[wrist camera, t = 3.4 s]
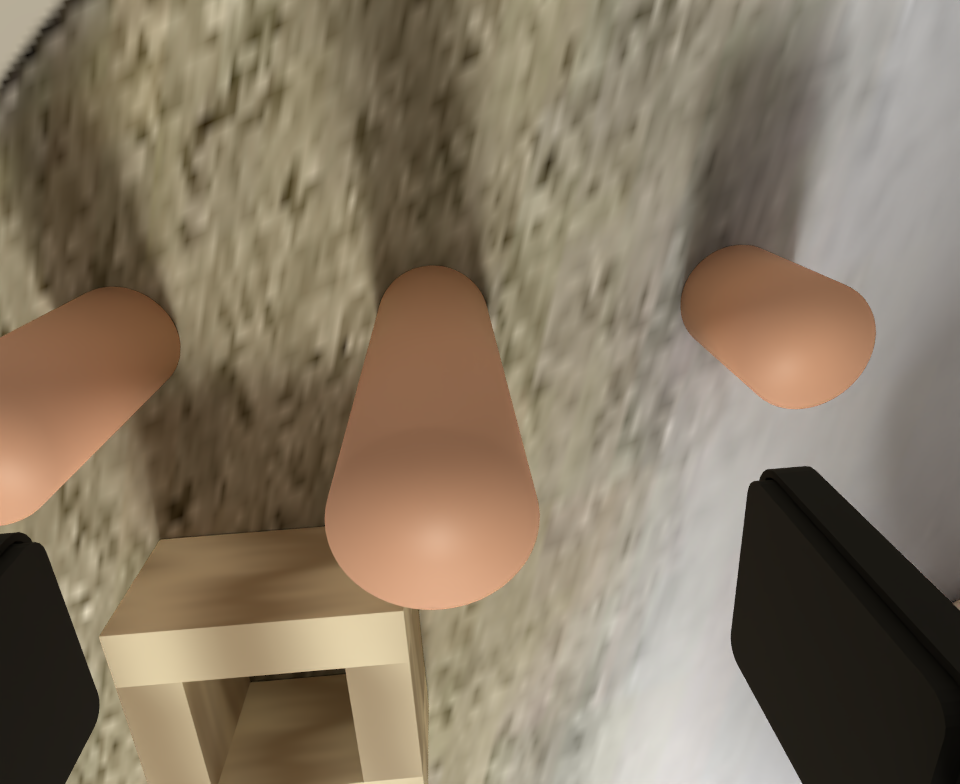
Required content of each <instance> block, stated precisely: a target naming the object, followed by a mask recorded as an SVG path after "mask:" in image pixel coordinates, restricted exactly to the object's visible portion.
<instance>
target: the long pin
mask: <svg viewBox="0 0 960 784" xmlns="http://www.w3.org/2000/svg"><path fill="white" fill-rule="evenodd" d="M539 518H540V513H539V504H538V499H537V495H536V492H535V488H534V484H533V480H532V476H531V473H530V469H529V465H528V461H527V457H526V454H525V450H524V446H523V442H522V438H521V435H520V431H519V427H518V423H517V419H516V416H515V412H514V408H513V404H512V400H511V397H510V393H509V389H508V385H507V381H506V378H505V374H504V370H503V366H502V362H501V359H500V355H499V351H498V347H497V343H496V340H495V336H494V332H493V328H492V324H491V321H490V317H489V313H488V309H487V305H486V302H485V300H484V297H483V295H482V293H481V292H480V290H479V289H478V287H477V286H476V285H475V284H474V283H473V282H472V281H471V280H470V279H469V278H468V277H466V276H465V275H464V274H462V273H460V272H458V271H456V270H454V269H451V268H448V267H444V266H437V265H429V266H421V267H418V268H414V269H412V270H409V271H407V272H405V273H404V274H402V275H401V276H399V277H398V278H397V279H395V280H394V281H393V282H392V283H391V284H390V286H389V287H388V288H387V290H386V291H385V293H384V295H383V297H382V300H381V302H380V306H379V309H378V313H377V317H376V320H375V324H374V328H373V332H372V335H371V339H370V343H369V346H368V350H367V354H366V358H365V361H364V365H363V369H362V372H361V376H360V380H359V383H358V387H357V391H356V395H355V398H354V402H353V406H352V409H351V413H350V417H349V421H348V424H347V428H346V432H345V435H344V439H343V443H342V446H341V450H340V454H339V458H338V461H337V465H336V469H335V472H334V476H333V480H332V484H331V487H330V491H329V495H328V499H327V503H326V508H325V531H326V536H327V540H328V544H329V546H330V549H331V551H332V554H333V556H334V557H335V559H336V561H337V562H338V564H339V566H340V567H341V568H342V569H343V571H344V572H345V573H346V575H347V576H348V577H349V578H351V579H352V580H353V581H354V582H355V583H356V584H357V585H358V586H360V587H361V588H362V589H364V590H365V591H367V592H368V593H370V594H372V595H374V596H375V597H377V598H379V599H382V600H384V601H386V602H389V603H392V604H395V605H399V606H402V607H407V608H413V609H424V610H438V609H448V608H455V607H459V606H463V605H467V604H470V603H472V602H475V601H478V600H480V599H482V598H484V597H486V596H488V595H490V594H492V593H494V592H495V591H497V590H498V589H500V588H501V587H503V586H504V585H505V584H506V583H507V582H509V581H510V580H511V579H512V578H513V577H514V576H515V575H516V574H517V573H518V572H519V571H520V569H521V568H522V566H523V565H524V564H525V562H526V561H527V559H528V557H529V555H530V554H531V552H532V550H533V547H534V544H535V542H536V539H537V534H538V529H539Z"/></svg>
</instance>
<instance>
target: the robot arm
mask: <svg viewBox="0 0 960 784" xmlns="http://www.w3.org/2000/svg"><path fill="white" fill-rule="evenodd" d="M731 646H732V650H733V654H734V657H735V660H736V662H737V665H738V666H739V668H740V670H741V672H742V674H743V676H744V677H745V679H746V681H747V683H748V685H749V687H750V688H751V690H752V692H753V694H754V696H755V698H756V699H757V701H758V703H759V705H760V707H761V709H762V710H763V712H764V714H765V716H766V718H767V720H768V721H769V723H770V725H771V727H772V729H773V731H774V732H775V734H776V736H777V738H778V740H779V742H780V743H781V745H782V747H783V749H784V751H785V752H786V754H787V756H788V758H789V760H790V762H791V763H792V765H793V767H794V769H795V771H796V773H797V774H798V776H799V778H800V780H801V782H802V784H960V610H959V609H958V608H957V607H956V606H955V605H954V604H953V603H952V602H951V601H950V600H949V599H948V598H946V597H945V596H944V595H943V594H942V593H941V592H940V591H939V590H938V589H937V588H936V587H935V586H934V585H933V584H932V583H931V582H930V581H929V580H928V579H927V578H926V577H925V576H924V575H923V574H922V573H921V572H920V571H919V570H918V569H917V568H916V567H915V566H914V565H913V564H911V563H910V562H909V561H908V560H907V559H906V558H905V557H904V556H903V555H902V554H901V553H900V552H899V551H898V550H897V549H896V548H895V547H894V546H893V545H892V544H891V543H890V542H889V541H888V540H887V539H886V538H885V537H884V536H883V535H882V534H881V533H880V532H879V531H877V530H876V529H875V528H874V527H873V526H872V525H871V524H870V523H869V522H868V521H867V520H866V519H865V518H864V517H863V516H862V515H861V514H860V513H859V512H858V511H857V510H856V509H855V508H854V507H853V506H852V505H851V504H850V503H849V502H848V501H847V500H846V499H845V498H843V497H842V496H841V495H840V494H839V493H838V492H837V491H836V490H835V489H834V488H833V487H832V486H831V485H830V484H829V483H828V482H827V481H826V480H825V479H824V478H823V477H822V476H821V475H820V474H819V473H818V472H817V471H816V470H814V469H813V468H811V467H807V466H803V467H791V468H779V469H767V470H766V471H764V472H763V473H762V475H761V477H760V481H753V482H752V483H751V484H750V486H749V488H748V493H747V502H746V510H745V519H744V527H743V536H742V544H741V553H740V561H739V570H738V578H737V587H736V595H735V604H734V612H733V621H732V629H731ZM98 714H99V696H98V693H97V690H96V687H95V684H94V682H93V679H92V676H91V673H90V671H89V668H88V665H87V662H86V660H85V657H84V654H83V651H82V649H81V646H80V643H79V640H78V638H77V635H76V632H75V629H74V627H73V624H72V621H71V618H70V616H69V613H68V610H67V607H66V605H65V602H64V599H63V596H62V594H61V591H60V588H59V586H58V583H57V580H56V577H55V575H54V572H53V569H52V566H51V564H50V561H49V558H48V555H47V553H46V551H45V549H44V547H43V546H42V545H41V544H40V543H36V542H32V541H31V539H30V538H29V537H28V536H27V535H26V534H23V533H20V532H17V533H5V534H0V784H65V783H66V781H67V779H68V777H69V775H70V773H71V771H72V769H73V767H74V765H75V763H76V762H77V760H78V758H79V756H80V754H81V752H82V750H83V748H84V746H85V744H86V742H87V740H88V738H89V736H90V735H91V733H92V731H93V729H94V727H95V724H96V722H97V718H98Z"/></svg>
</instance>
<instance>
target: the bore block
mask: <svg viewBox="0 0 960 784" xmlns="http://www.w3.org/2000/svg"><path fill="white" fill-rule="evenodd" d="M99 638H100V641H101V644H102V647H103V650H104V653H105V656H106V659H107V662H108V666H109V669H110V672H111V675H112V678H113V681H114V684H115V687H116V690H117V693H118V696H119V699H120V702H121V705H122V708H123V711H124V714H125V717H126V720H127V723H128V726H129V729H130V732H131V735H132V738H133V741H134V744H135V747H136V750H137V753H138V756H139V759H140V762H141V765H142V768H143V771H144V774H145V777H146V780H147V783H148V784H428V725H429V703H428V694H427V684H426V675H425V666H424V657H423V647H422V638H421V629H420V620H419V610H418V609H413V608H407V607H402V606H399V605H395V604H392V603H389V602H386V601H384V600H382V599H379V598H377V597H375V596H374V595H372V594H370V593H368V592H367V591H365V590H364V589H362V588H361V587H360V586H358V585H357V584H356V583H355V582H354V581H353V580H352V579H351V578H349V577H348V576H347V575H346V573H345V572H344V571H343V569H342V568H341V567H340V566H339V564H338V562H337V561H336V559H335V557H334V556H333V554H332V551H331V549H330V546H329V544H328V540H327V536H326V531H325V526H324V527H312V528H299V529H287V530H274V531H262V532H249V533H237V534H224V535H211V536H199V537H186V538H174V539H161V540H159V542H158V543H157V545H156V547H155V548H154V550H153V551H152V553H151V555H150V556H149V558H148V559H147V561H146V563H145V564H144V566H143V567H142V569H141V571H140V572H139V574H138V575H137V577H136V578H135V580H134V582H133V583H132V585H131V586H130V588H129V590H128V591H127V593H126V594H125V596H124V598H123V599H122V601H121V602H120V604H119V606H118V607H117V609H116V610H115V612H114V613H113V615H112V617H111V618H110V620H109V621H108V623H107V625H106V626H105V628H104V629H103V631H102V633H101V634H100V636H99ZM340 668H345V671H346V674H340V675H329V676H317V677H306V678H294V679H283V680H272V681H260V682H250V679H249V676H260V675H271V674H283V673H294V672H306V671H317V670H329V669H340Z"/></svg>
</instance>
